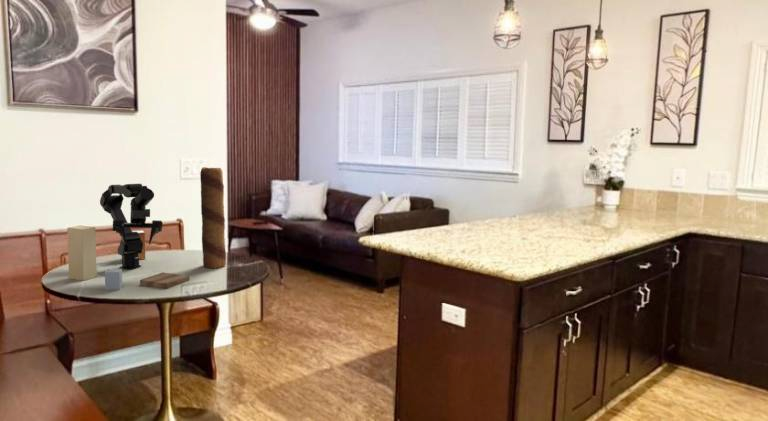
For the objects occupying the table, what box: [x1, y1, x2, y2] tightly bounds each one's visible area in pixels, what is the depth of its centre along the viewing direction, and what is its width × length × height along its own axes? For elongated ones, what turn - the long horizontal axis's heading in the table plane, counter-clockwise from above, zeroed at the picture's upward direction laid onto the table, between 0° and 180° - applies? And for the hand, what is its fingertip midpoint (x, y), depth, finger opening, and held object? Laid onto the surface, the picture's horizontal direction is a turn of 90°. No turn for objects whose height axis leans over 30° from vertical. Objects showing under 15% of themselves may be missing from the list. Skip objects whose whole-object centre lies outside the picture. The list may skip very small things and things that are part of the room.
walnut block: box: [139, 272, 190, 290], centre depth 216 cm, size 13×13×2 cm
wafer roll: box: [199, 167, 227, 269], centre depth 242 cm, size 10×11×45 cm
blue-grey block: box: [104, 268, 123, 291], centre depth 206 cm, size 5×5×7 cm
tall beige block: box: [66, 225, 98, 282], centre depth 218 cm, size 8×7×21 cm
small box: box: [132, 229, 146, 261], centre depth 253 cm, size 8×6×13 cm
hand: (137, 244), depth 220 cm, fingers open, 9 cm apart
